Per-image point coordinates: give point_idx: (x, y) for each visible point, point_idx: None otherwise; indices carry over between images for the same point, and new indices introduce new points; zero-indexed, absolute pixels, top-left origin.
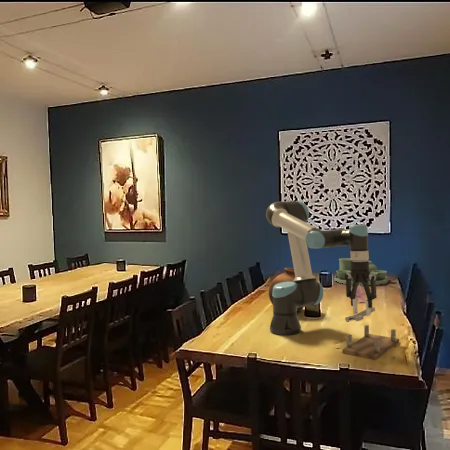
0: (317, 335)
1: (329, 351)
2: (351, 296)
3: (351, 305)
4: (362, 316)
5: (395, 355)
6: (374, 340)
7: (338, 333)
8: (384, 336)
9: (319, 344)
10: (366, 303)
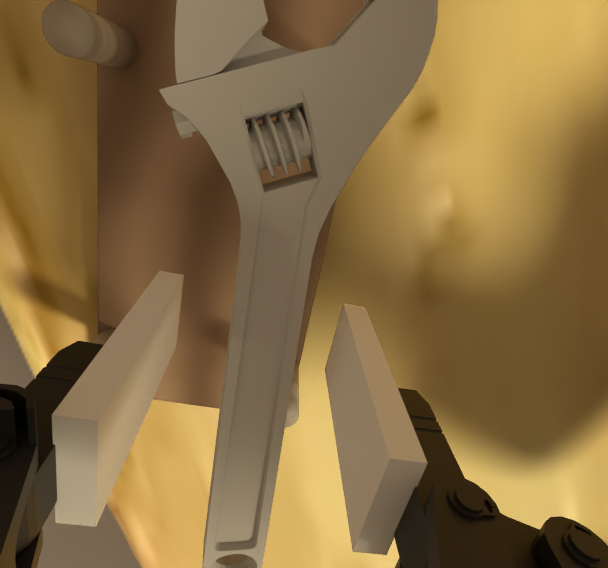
0: (585, 329)
1: (473, 5)
2: (477, 529)
3: (418, 395)
4: (168, 87)
5: (28, 119)
6: (219, 310)
7: (463, 406)
8: (189, 403)
9: (561, 149)
10: (111, 375)
